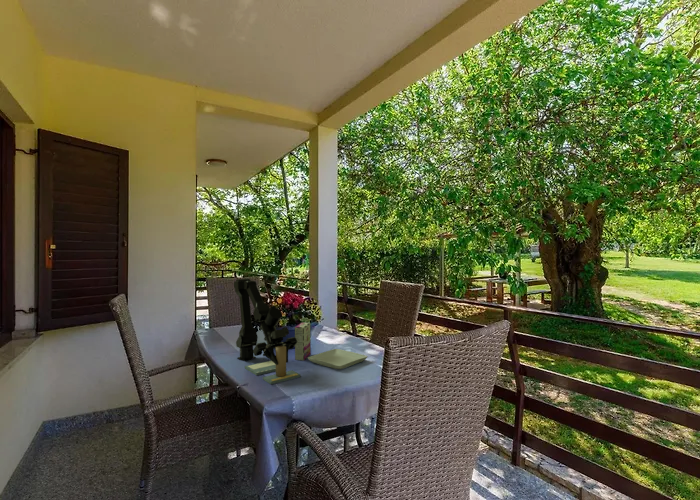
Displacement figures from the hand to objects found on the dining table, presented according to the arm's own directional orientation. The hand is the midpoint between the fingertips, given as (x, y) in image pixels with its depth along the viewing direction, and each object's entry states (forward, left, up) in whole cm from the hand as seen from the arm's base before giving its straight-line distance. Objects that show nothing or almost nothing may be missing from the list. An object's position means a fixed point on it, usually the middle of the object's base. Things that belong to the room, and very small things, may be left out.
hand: (282, 363), depth 160 cm
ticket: (-16, +4, -7) cm, 18 cm away
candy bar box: (-14, +27, -7) cm, 32 cm away
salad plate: (+5, +31, -7) cm, 33 cm away
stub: (-1, 0, -6) cm, 7 cm away
